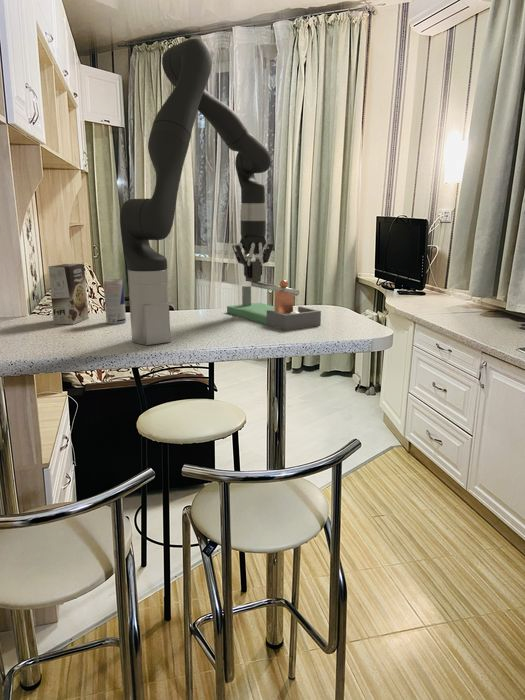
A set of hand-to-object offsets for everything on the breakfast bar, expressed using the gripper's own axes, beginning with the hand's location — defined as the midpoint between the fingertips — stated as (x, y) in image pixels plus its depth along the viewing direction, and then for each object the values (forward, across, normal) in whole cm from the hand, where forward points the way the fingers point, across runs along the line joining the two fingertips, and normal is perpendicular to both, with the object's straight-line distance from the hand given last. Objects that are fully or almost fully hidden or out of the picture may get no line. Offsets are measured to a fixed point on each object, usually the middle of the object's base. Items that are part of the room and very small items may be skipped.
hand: (253, 277), depth 159 cm
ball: (+9, 0, -22) cm, 23 cm away
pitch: (+11, 0, -10) cm, 15 cm away
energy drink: (+11, -40, +10) cm, 43 cm away
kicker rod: (+9, 0, -10) cm, 13 cm away
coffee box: (+11, -50, +19) cm, 55 cm away
